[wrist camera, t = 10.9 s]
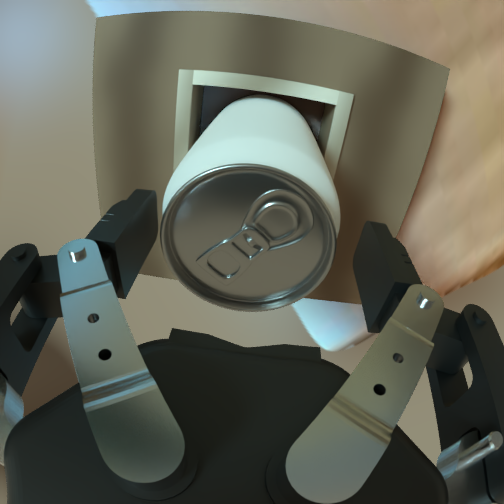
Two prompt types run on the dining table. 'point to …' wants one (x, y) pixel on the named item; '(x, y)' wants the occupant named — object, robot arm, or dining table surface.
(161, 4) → the dining table surface
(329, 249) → the can
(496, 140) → the dining table surface
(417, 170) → the socket board
